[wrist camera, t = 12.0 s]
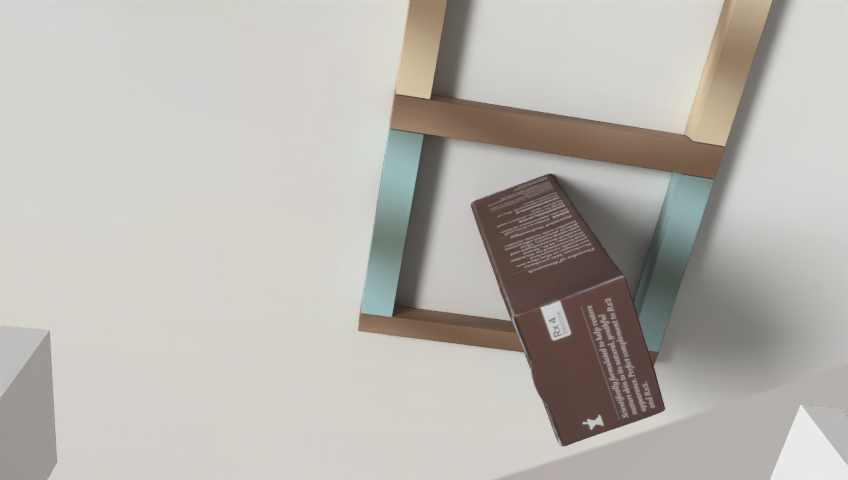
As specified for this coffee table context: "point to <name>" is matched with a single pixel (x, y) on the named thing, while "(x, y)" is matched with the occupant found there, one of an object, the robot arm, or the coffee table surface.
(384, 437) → the coffee table surface
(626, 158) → the two-pane wooden frame
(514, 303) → the box
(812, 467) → the robot arm
